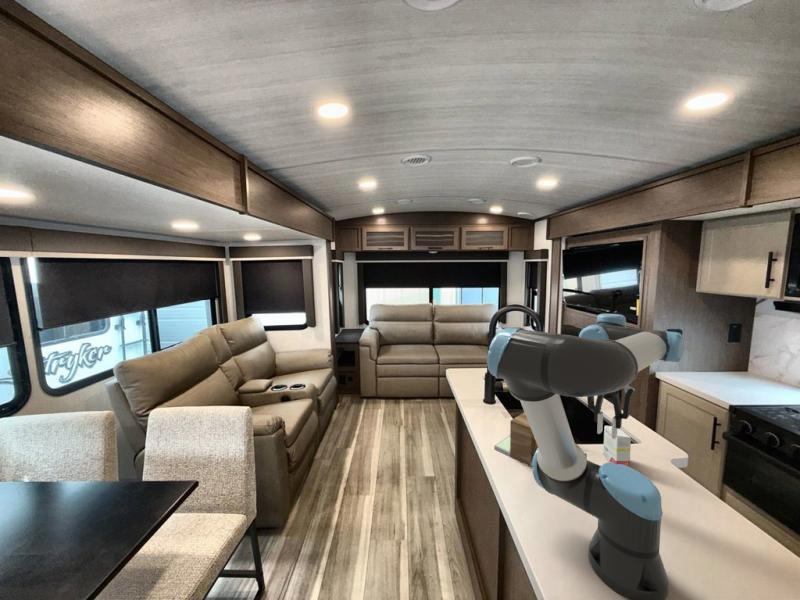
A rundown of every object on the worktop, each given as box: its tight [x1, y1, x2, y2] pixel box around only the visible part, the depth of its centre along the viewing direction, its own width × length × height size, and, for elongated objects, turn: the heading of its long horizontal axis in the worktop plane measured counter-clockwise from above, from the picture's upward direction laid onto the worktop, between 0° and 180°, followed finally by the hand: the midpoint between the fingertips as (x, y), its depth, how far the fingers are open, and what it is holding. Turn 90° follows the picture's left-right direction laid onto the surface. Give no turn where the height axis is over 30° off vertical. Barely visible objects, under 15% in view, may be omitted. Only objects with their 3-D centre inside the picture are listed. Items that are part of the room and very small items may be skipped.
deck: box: [493, 434, 533, 468], centre depth 120 cm, size 12×22×2 cm, turn 41°
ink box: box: [602, 425, 632, 468], centre depth 114 cm, size 9×5×12 cm, turn 175°
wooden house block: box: [509, 411, 533, 467], centre depth 119 cm, size 12×8×14 cm, turn 131°
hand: (607, 434), depth 99 cm, fingers open, 3 cm apart
